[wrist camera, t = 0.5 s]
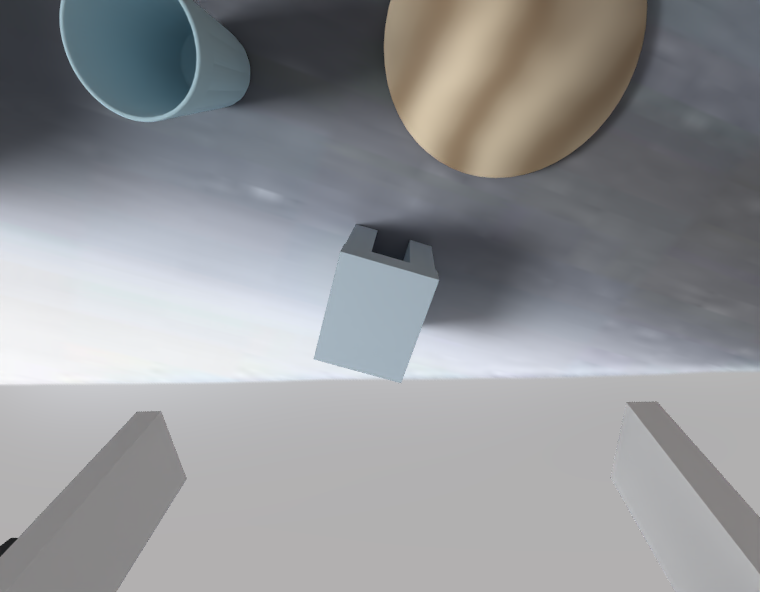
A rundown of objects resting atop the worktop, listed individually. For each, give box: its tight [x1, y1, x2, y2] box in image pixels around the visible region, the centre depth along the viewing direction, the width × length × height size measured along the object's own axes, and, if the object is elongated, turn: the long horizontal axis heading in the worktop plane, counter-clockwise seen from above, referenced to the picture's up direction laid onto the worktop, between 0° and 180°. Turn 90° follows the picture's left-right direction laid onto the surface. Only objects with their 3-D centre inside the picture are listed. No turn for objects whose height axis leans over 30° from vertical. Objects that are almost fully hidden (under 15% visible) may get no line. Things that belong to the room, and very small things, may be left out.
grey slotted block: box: [314, 224, 439, 383], centre depth 33 cm, size 7×9×9 cm
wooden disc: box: [384, 0, 647, 178], centre depth 28 cm, size 18×18×1 cm
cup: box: [59, 0, 250, 122], centre depth 26 cm, size 8×8×10 cm
